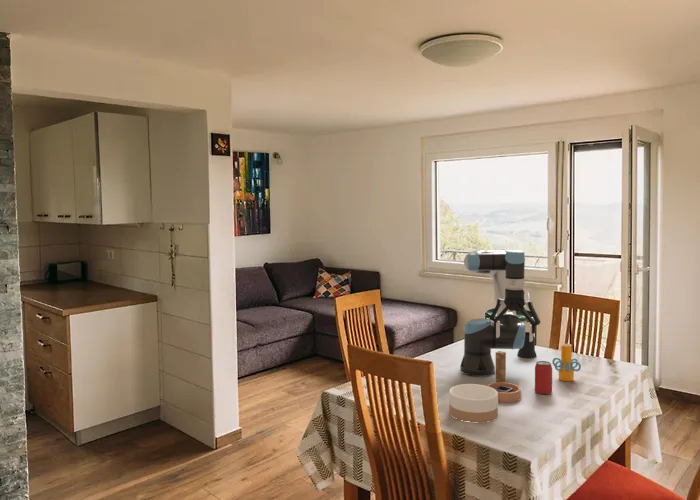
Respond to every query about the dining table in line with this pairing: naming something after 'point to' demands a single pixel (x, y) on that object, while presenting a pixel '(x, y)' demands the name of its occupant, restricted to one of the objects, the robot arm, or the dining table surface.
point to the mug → (527, 348)
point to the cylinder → (566, 363)
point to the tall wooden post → (500, 366)
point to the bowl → (473, 402)
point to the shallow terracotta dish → (505, 395)
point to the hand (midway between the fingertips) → (514, 339)
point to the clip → (504, 389)
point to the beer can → (543, 377)
